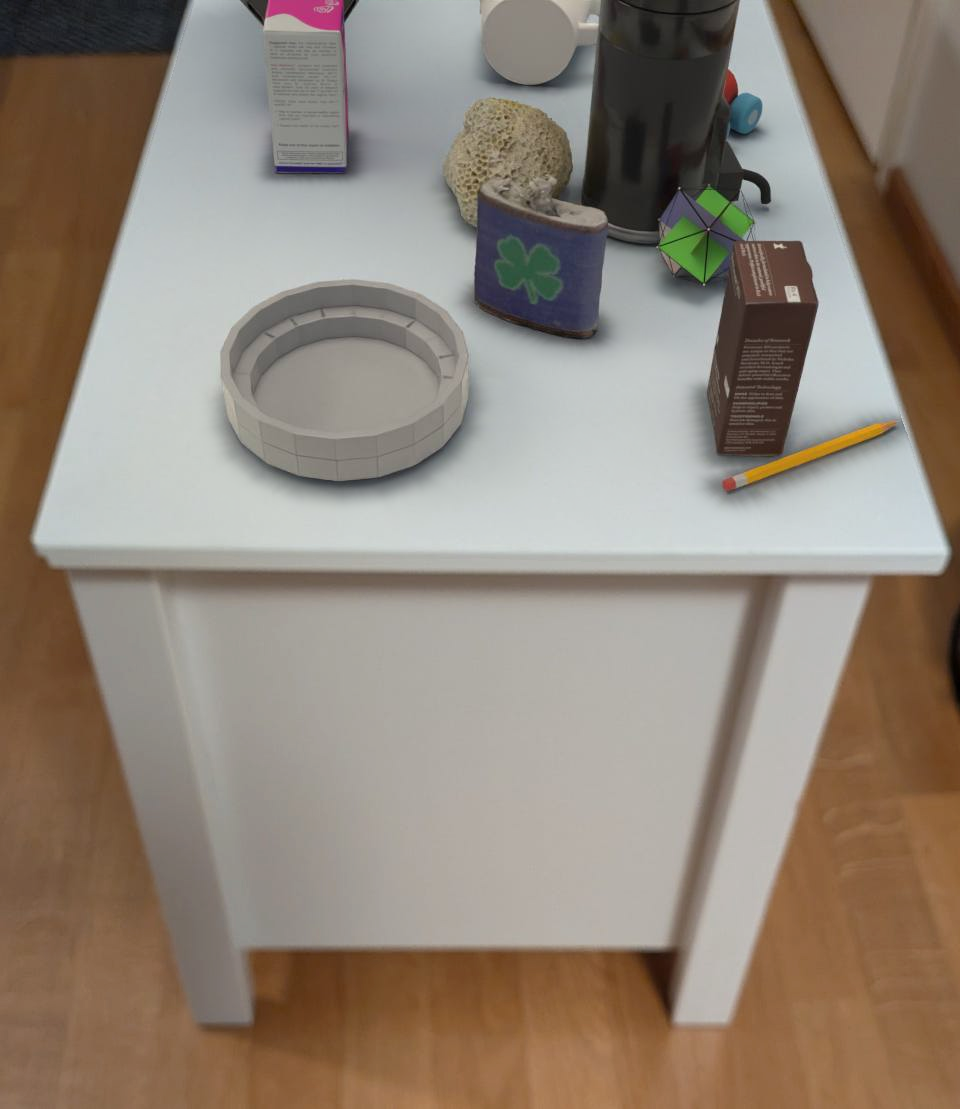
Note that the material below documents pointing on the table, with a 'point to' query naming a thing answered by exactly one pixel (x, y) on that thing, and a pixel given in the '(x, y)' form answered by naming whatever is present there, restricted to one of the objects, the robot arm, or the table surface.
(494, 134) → the decorative item
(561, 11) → the mug
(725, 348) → the box
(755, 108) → the toy car
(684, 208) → the geometric puzzle
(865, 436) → the pencil
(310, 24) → the supplement box
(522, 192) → the flask
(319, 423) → the bowl
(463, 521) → the table surface
